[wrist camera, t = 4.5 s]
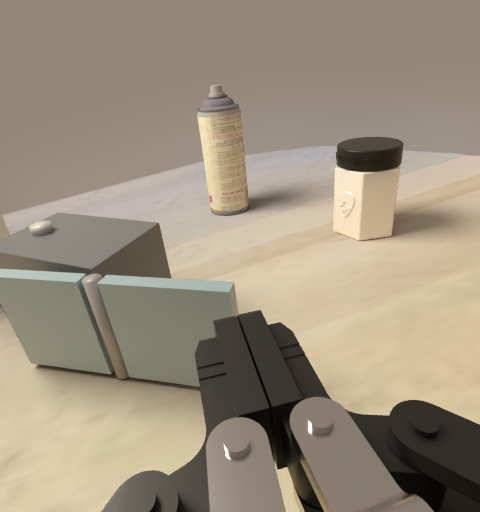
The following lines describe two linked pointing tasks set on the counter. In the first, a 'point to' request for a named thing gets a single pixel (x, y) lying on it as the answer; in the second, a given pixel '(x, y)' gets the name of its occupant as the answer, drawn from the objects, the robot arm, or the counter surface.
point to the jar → (366, 187)
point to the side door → (115, 321)
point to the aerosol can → (223, 153)
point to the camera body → (87, 247)
